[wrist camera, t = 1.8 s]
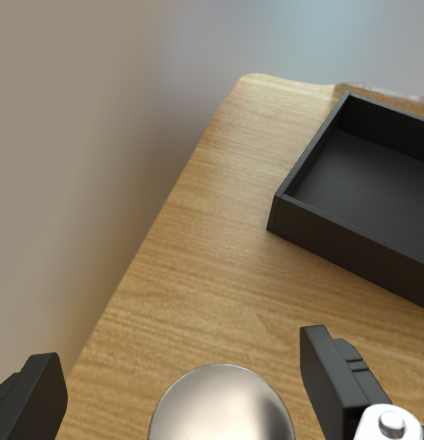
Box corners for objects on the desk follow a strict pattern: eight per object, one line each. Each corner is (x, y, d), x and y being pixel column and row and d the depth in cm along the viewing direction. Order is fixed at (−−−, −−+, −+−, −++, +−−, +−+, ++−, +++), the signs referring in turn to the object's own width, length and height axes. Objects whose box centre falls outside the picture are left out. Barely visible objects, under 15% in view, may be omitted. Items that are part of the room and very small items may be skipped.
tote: (265, 229, 36) (274, 195, 32) (332, 127, 45) (345, 89, 41) (455, 323, 31) (494, 296, 27) (489, 187, 40) (522, 151, 36)
